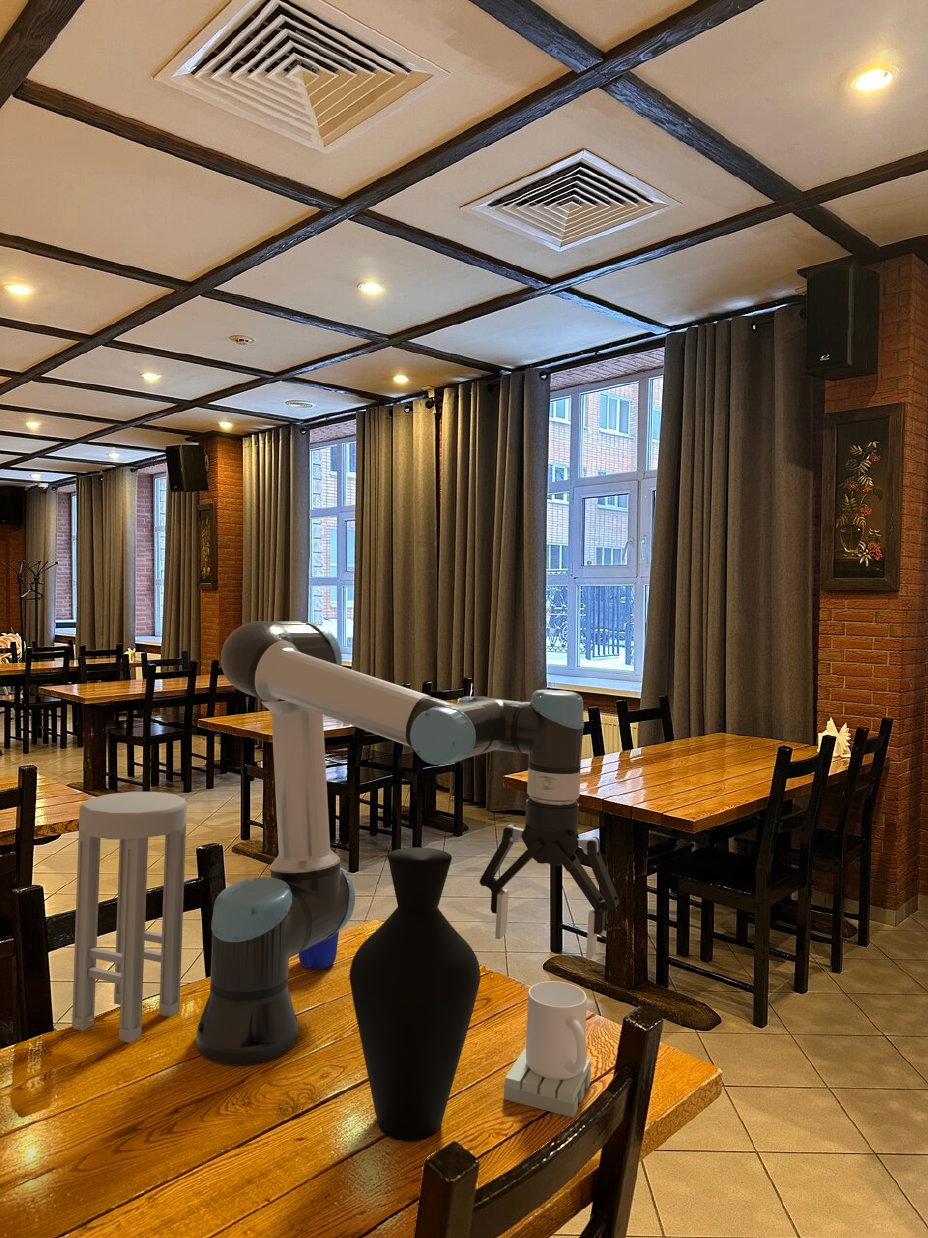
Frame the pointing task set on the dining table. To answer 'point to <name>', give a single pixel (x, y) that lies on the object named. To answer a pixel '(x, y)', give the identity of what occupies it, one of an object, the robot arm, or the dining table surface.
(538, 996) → the mug
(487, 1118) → the dining table surface
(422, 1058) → the vase
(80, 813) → the stool
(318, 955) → the mug
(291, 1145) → the dining table surface
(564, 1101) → the block
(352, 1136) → the dining table surface
